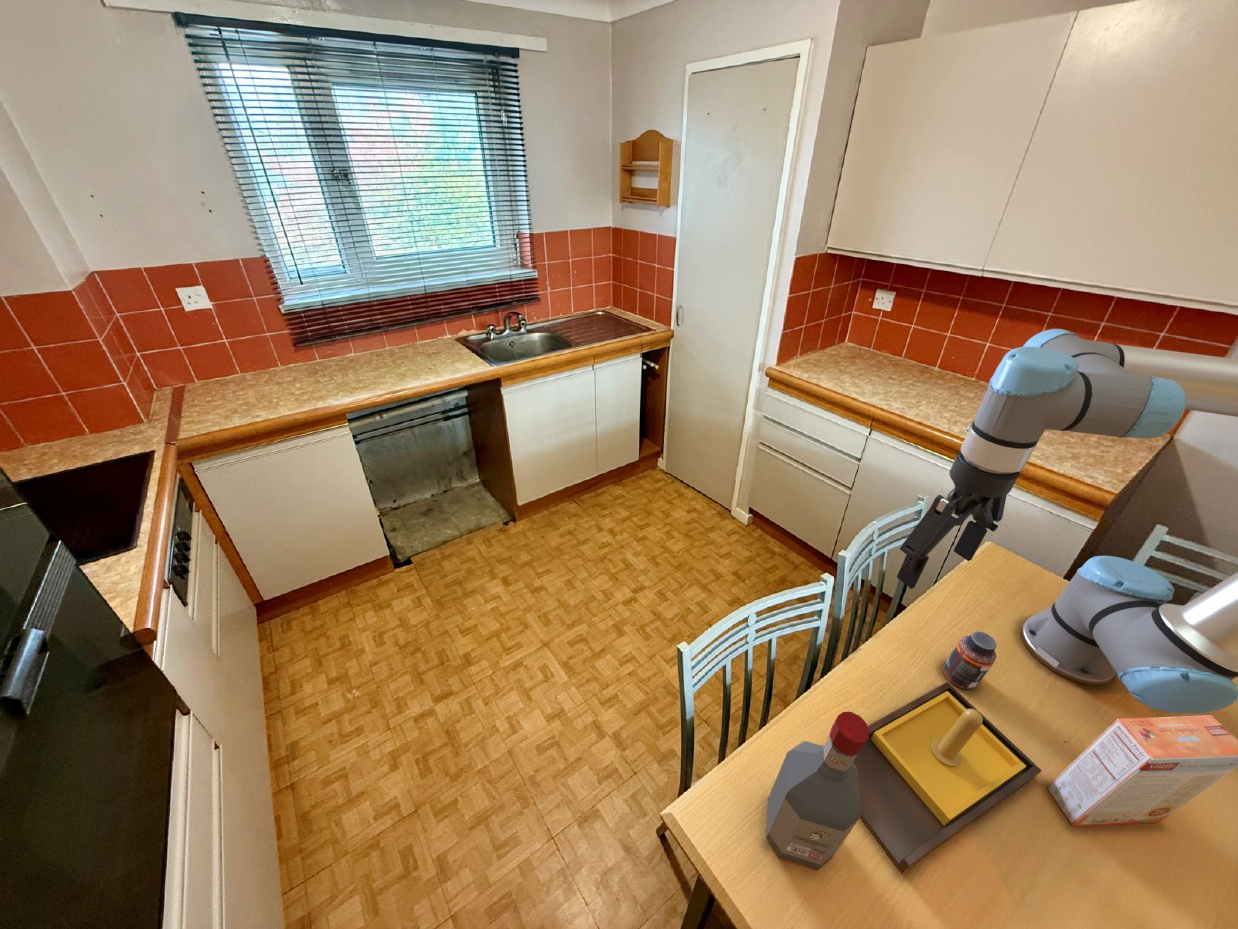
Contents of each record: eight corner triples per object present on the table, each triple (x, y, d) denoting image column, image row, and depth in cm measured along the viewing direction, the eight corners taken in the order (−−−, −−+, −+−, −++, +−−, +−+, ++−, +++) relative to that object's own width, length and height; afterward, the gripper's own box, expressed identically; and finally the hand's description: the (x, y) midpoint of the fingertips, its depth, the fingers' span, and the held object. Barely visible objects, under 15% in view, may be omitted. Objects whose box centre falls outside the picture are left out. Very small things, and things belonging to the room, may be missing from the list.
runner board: (940, 691, 95) (947, 681, 93) (1032, 779, 82) (1042, 770, 80) (817, 760, 84) (822, 751, 82) (901, 874, 72) (909, 866, 70)
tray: (942, 697, 92) (972, 654, 84) (1019, 773, 82) (1061, 731, 74) (870, 739, 86) (895, 696, 78) (944, 826, 75) (981, 786, 68)
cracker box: (1125, 782, 82) (1214, 712, 70) (1159, 825, 77) (1260, 758, 65) (1042, 784, 82) (1116, 715, 70) (1070, 828, 77) (1156, 761, 65)
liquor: (830, 877, 71) (902, 779, 54) (764, 855, 73) (813, 754, 56) (826, 807, 78) (888, 700, 61) (766, 789, 80) (810, 681, 63)
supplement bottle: (980, 695, 94) (1007, 659, 88) (944, 685, 96) (969, 649, 89) (973, 668, 99) (998, 631, 92) (939, 659, 100) (962, 622, 94)
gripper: (1017, 427, 77) (963, 531, 89) (903, 468, 68) (860, 578, 80) (1071, 452, 71) (1005, 559, 83) (955, 500, 62) (900, 612, 74)
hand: (934, 568), depth 82 cm, fingers open, 13 cm apart
